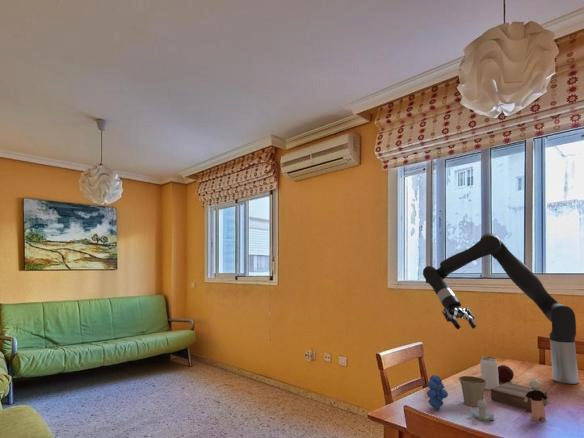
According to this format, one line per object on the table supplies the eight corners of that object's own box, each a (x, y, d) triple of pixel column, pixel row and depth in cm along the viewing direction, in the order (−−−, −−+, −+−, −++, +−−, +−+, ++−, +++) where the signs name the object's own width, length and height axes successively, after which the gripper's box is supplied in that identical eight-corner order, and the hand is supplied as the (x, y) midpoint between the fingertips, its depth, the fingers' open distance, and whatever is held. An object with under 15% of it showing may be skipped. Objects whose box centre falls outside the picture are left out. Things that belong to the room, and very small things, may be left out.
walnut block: (508, 392, 153) (507, 382, 153) (547, 402, 142) (546, 391, 142) (491, 400, 145) (490, 389, 145) (531, 411, 134) (530, 399, 134)
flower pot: (486, 401, 144) (484, 377, 145) (489, 410, 135) (488, 384, 136) (458, 398, 147) (457, 374, 148) (460, 406, 138) (459, 381, 139)
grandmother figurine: (544, 416, 129) (541, 377, 130) (552, 421, 125) (549, 381, 126) (522, 417, 129) (519, 377, 130) (529, 421, 125) (527, 381, 126)
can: (501, 391, 155) (499, 360, 156) (484, 390, 156) (482, 359, 157) (496, 386, 161) (494, 356, 162) (479, 385, 162) (478, 356, 164)
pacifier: (474, 414, 132) (468, 418, 128) (474, 394, 133) (468, 398, 128) (498, 419, 127) (492, 424, 123) (497, 399, 128) (491, 404, 124)
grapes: (443, 417, 128) (441, 380, 129) (423, 412, 132) (421, 376, 134) (454, 408, 137) (452, 373, 138) (435, 403, 141) (434, 369, 142)
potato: (514, 380, 170) (513, 364, 171) (513, 385, 163) (512, 368, 164) (496, 377, 174) (495, 361, 175) (494, 382, 167) (493, 365, 168)
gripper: (439, 294, 180) (457, 323, 168) (464, 294, 184) (484, 322, 172) (432, 305, 185) (450, 333, 172) (457, 304, 189) (475, 332, 177)
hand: (467, 327), depth 172 cm, fingers open, 8 cm apart
